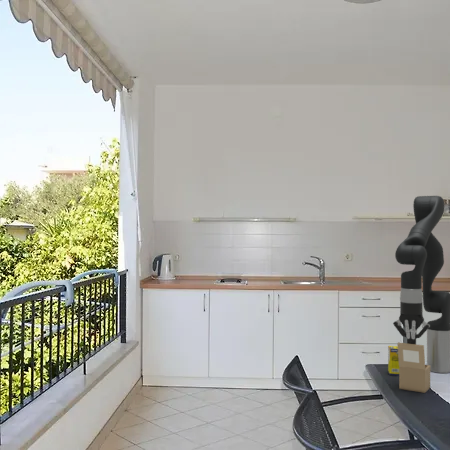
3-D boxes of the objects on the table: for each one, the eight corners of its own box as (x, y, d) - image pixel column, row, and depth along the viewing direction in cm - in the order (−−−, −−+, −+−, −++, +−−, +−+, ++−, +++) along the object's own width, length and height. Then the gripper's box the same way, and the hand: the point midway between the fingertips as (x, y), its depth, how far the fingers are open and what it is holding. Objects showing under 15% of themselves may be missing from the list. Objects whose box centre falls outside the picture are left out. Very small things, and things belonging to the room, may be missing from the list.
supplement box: (405, 376, 208) (405, 349, 209) (389, 375, 210) (389, 348, 210) (403, 373, 214) (403, 346, 215) (387, 372, 215) (388, 345, 216)
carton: (405, 383, 198) (405, 362, 198) (430, 387, 193) (430, 365, 193) (399, 388, 190) (399, 366, 191) (425, 392, 186) (425, 370, 186)
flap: (397, 342, 189) (397, 343, 188) (423, 345, 184) (423, 346, 184) (399, 365, 191) (398, 366, 190) (425, 368, 186) (424, 369, 185)
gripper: (432, 300, 187) (433, 349, 187) (395, 298, 194) (395, 344, 194) (428, 303, 181) (428, 353, 181) (389, 300, 188) (390, 348, 188)
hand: (411, 348), depth 188 cm, fingers closed
